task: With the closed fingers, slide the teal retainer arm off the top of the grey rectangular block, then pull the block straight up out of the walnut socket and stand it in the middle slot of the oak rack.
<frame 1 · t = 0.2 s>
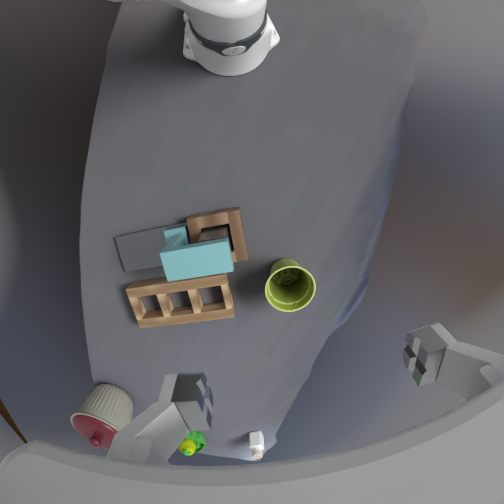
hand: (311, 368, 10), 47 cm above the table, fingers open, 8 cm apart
fruit basket: (188, 431, 79), on the table
retainer: (195, 250, 50), point 7 cm above the table, slide at 0.0 cm
plant pot: (284, 271, 60), on the table
canister: (115, 394, 73), on the table
grey rectangular block: (218, 235, 57), resting in socket frame
salt shaker: (256, 433, 79), on the table
socket frame: (218, 235, 57), on the table
rack: (181, 296, 61), on the table
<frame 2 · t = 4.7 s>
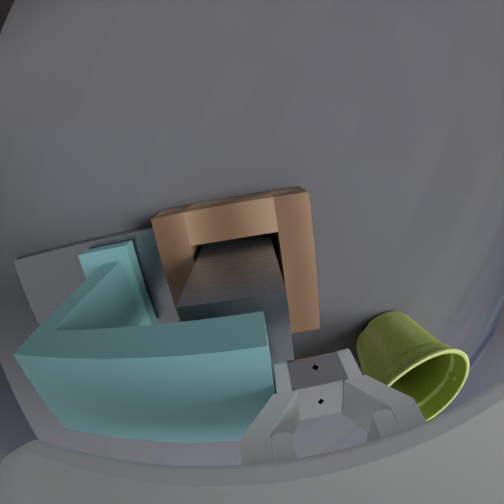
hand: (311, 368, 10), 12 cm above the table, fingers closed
retainer: (147, 325, 15), point 7 cm above the table, slide at 1.7 cm, touching gripper
plant pot: (382, 335, 25), on the table
grey rectangular block: (241, 262, 22), resting in socket frame
socket frame: (241, 262, 22), on the table
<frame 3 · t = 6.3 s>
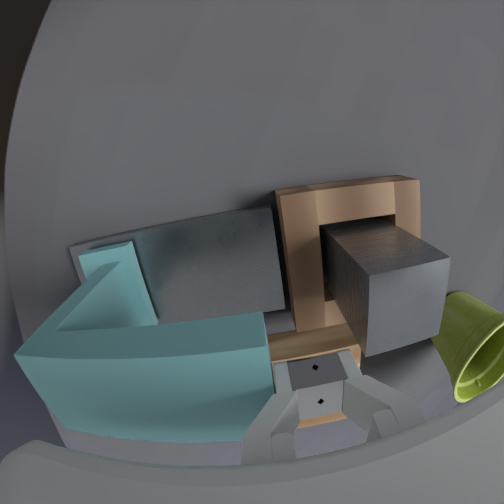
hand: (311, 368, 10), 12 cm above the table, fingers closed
retainer: (147, 325, 15), point 7 cm above the table, slide at 9.9 cm, touching gripper
plant pot: (447, 315, 24), on the table
grey rectangular block: (346, 244, 21), resting in socket frame
socket frame: (346, 245, 21), on the table
rack: (235, 380, 26), on the table
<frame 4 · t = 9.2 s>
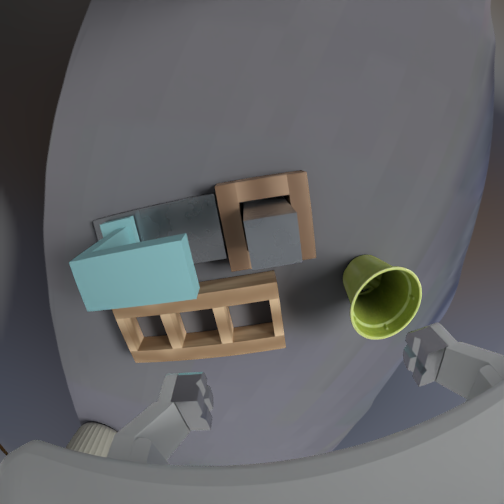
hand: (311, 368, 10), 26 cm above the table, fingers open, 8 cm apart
retainer: (139, 256, 28), point 7 cm above the table, slide at 10.0 cm
plant pot: (361, 274, 37), on the table
canister: (107, 434, 51), on the table
grey rectangular block: (265, 217, 34), resting in socket frame
socket frame: (265, 217, 34), on the table
rack: (199, 315, 39), on the table
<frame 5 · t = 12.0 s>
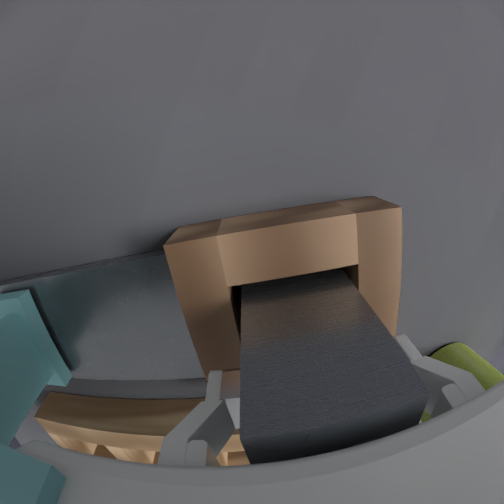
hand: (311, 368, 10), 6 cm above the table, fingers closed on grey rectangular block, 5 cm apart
retainer: (24, 400, 9), point 7 cm above the table, slide at 10.0 cm
plant pot: (437, 369, 18), on the table
grey rectangular block: (291, 299, 15), resting in socket frame, touching gripper
socket frame: (291, 299, 15), on the table
rack: (172, 435, 20), on the table
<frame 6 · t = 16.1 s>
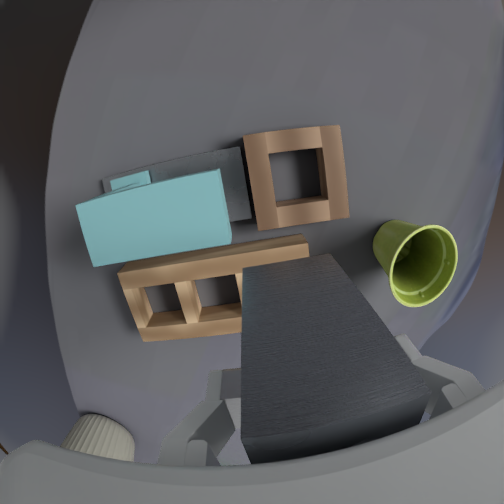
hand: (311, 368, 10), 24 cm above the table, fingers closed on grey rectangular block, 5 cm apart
retainer: (157, 207, 24), point 7 cm above the table, slide at 10.0 cm
plant pot: (391, 241, 34), on the table
canister: (108, 427, 48), on the table
grey rectangular block: (291, 299, 15), point 18 cm above the table, touching gripper
socket frame: (294, 174, 31), on the table
rack: (218, 285, 35), on the table
when the fingers open (8 cm above the table, at t = 20.3 s): grey rectangular block drops 2 cm, resting in rack.
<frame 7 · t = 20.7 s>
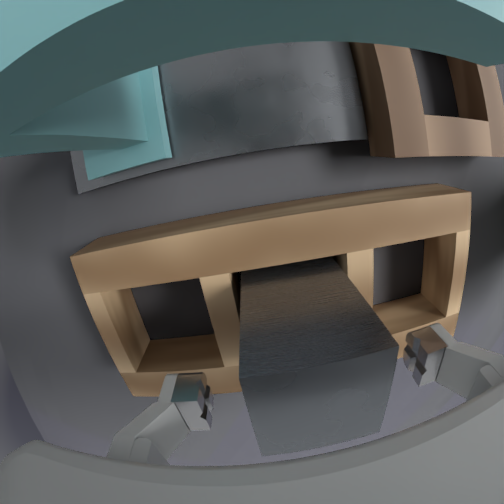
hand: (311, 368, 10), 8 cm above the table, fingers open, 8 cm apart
retainer: (176, 38, 6), point 7 cm above the table, slide at 10.0 cm
grey rectangular block: (285, 283, 17), resting in rack
socket frame: (423, 79, 13), on the table
rack: (286, 284, 17), on the table
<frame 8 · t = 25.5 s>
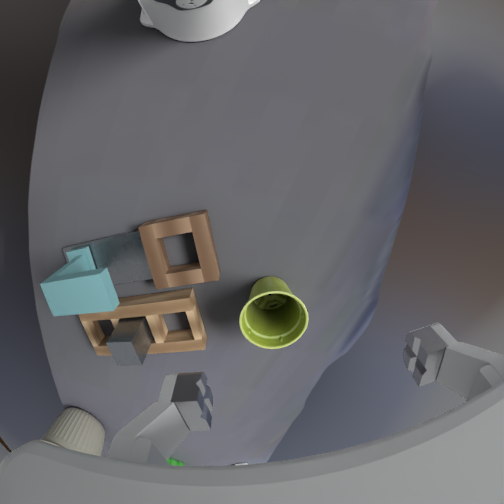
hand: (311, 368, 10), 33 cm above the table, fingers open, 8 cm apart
fruit basket: (167, 459, 65), on the table
retainer: (88, 278, 36), point 7 cm above the table, slide at 10.0 cm
plant pot: (269, 292, 46), on the table
canister: (85, 419, 59), on the table
grey rectangular block: (142, 319, 47), resting in rack
socket frame: (182, 247, 43), on the table
rack: (142, 320, 47), on the table
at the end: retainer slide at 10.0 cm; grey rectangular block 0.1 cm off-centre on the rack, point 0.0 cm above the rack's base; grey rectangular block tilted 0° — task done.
